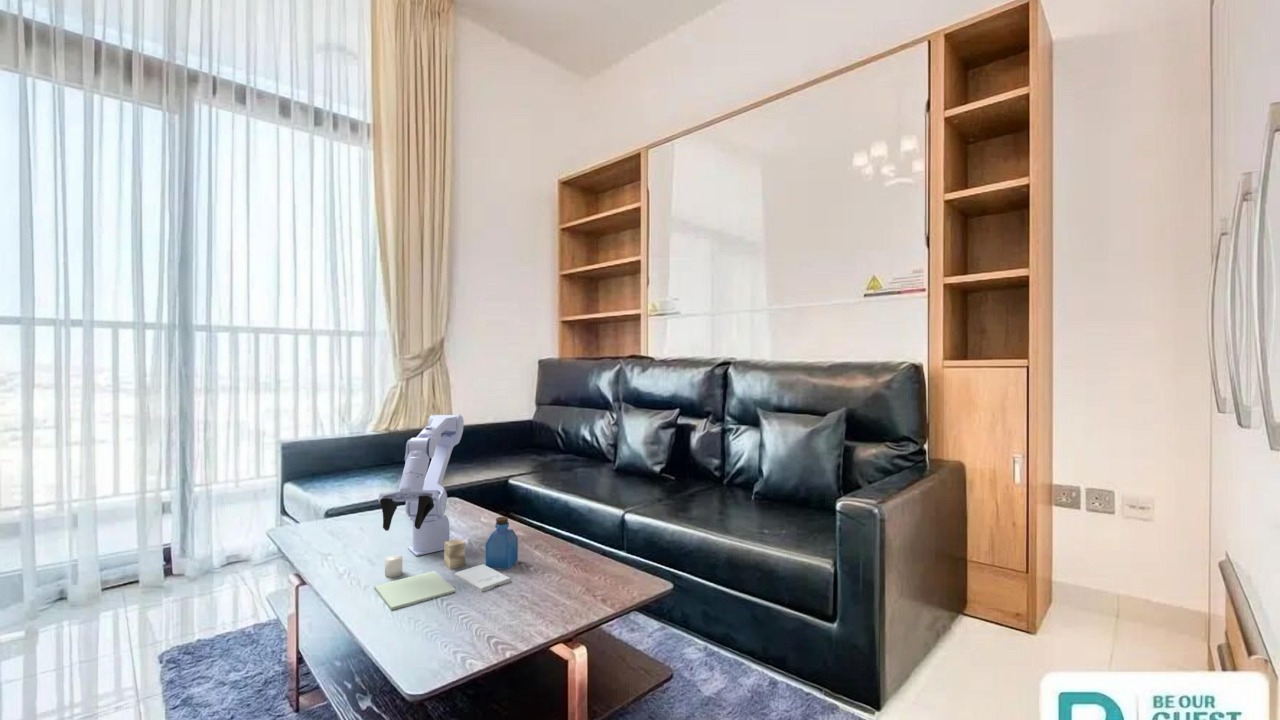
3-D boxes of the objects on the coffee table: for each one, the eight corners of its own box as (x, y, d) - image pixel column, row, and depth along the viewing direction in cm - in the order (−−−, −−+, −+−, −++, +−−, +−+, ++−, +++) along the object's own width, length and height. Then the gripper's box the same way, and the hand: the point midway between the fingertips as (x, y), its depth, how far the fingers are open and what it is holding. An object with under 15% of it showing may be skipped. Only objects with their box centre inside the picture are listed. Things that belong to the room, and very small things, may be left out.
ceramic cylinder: (399, 569, 140) (399, 554, 140) (404, 574, 137) (404, 558, 137) (383, 573, 138) (383, 557, 138) (387, 578, 135) (387, 562, 135)
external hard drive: (483, 569, 142) (511, 583, 133) (454, 579, 136) (481, 594, 127) (483, 563, 142) (511, 577, 133) (454, 572, 136) (481, 587, 127)
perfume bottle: (485, 567, 142) (485, 521, 142) (495, 558, 148) (496, 514, 148) (508, 569, 141) (508, 523, 140) (517, 560, 147) (517, 515, 147)
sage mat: (434, 573, 138) (434, 570, 138) (455, 592, 127) (455, 589, 127) (374, 588, 129) (374, 585, 129) (391, 610, 118) (391, 607, 118)
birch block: (459, 561, 146) (459, 538, 146) (465, 565, 143) (465, 542, 143) (444, 564, 144) (444, 541, 143) (449, 569, 140) (449, 546, 140)
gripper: (379, 472, 140) (365, 522, 131) (436, 469, 140) (426, 520, 132) (389, 485, 145) (376, 534, 137) (444, 482, 146) (434, 531, 137)
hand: (401, 528), depth 135 cm, fingers open, 7 cm apart
